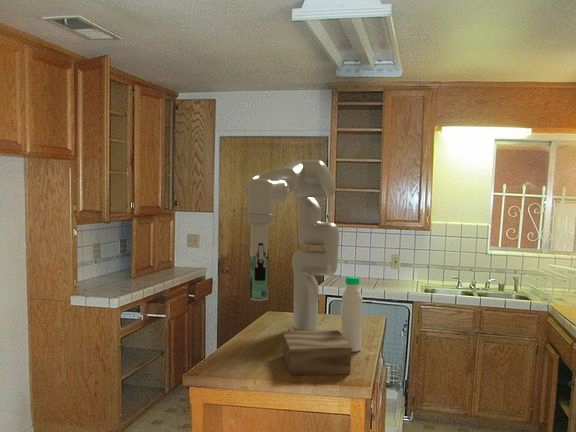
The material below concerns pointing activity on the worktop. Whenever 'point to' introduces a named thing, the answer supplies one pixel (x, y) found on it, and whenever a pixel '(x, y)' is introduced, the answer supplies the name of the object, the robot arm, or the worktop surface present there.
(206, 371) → the worktop surface
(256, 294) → the spray can
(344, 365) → the brown wooden block
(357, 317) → the water bottle
